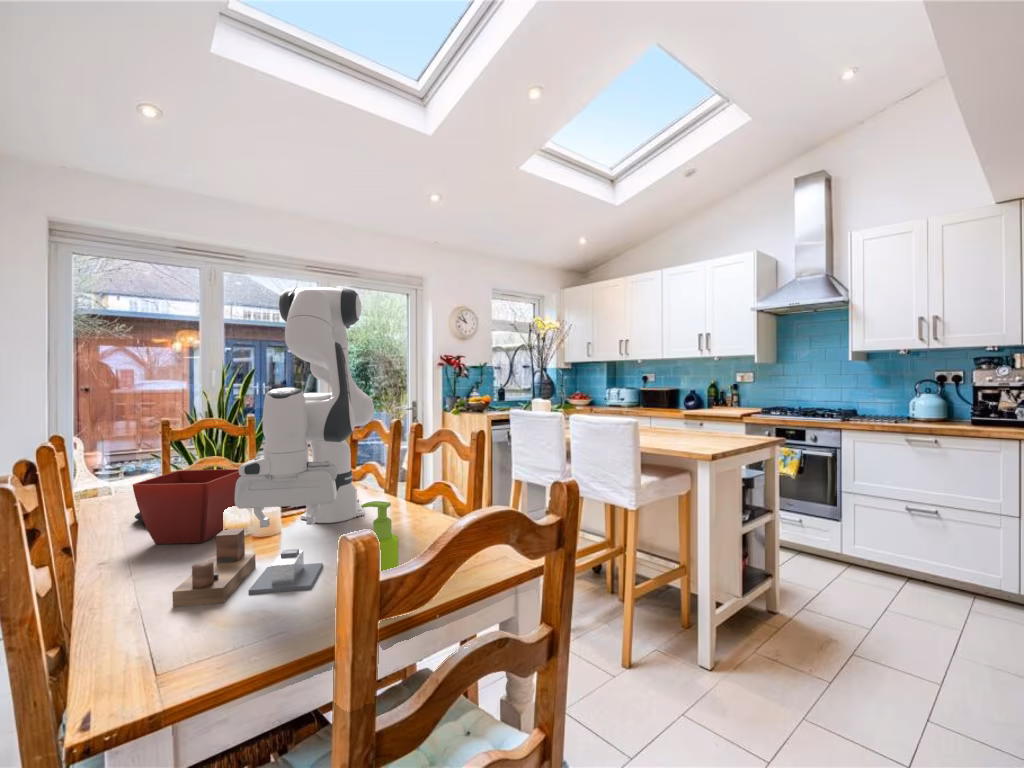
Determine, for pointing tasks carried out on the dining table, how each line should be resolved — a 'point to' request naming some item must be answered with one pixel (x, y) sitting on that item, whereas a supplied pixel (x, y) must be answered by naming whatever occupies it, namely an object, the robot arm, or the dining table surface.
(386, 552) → the soap dispenser
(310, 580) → the slate mat
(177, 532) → the plant pot
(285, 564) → the lever cap
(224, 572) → the body
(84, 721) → the dining table surface
